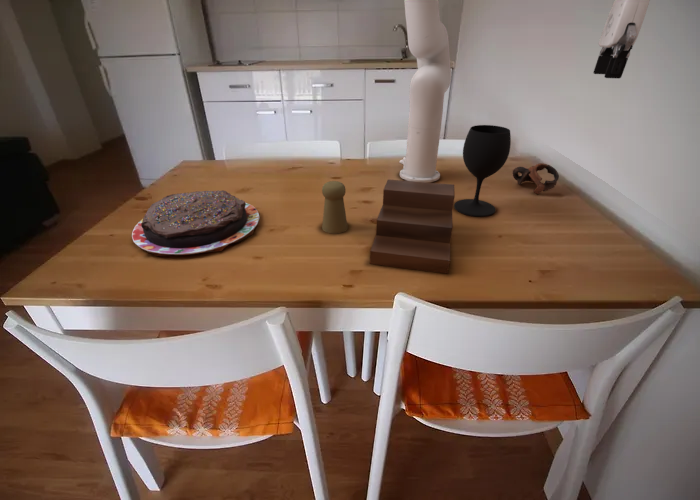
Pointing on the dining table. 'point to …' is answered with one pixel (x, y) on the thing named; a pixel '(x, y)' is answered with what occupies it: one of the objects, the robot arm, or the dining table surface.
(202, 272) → the dining table surface
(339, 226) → the olive peg figure
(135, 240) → the chocolate cake
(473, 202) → the wine glass
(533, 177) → the brown twisted piece
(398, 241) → the spice rack
